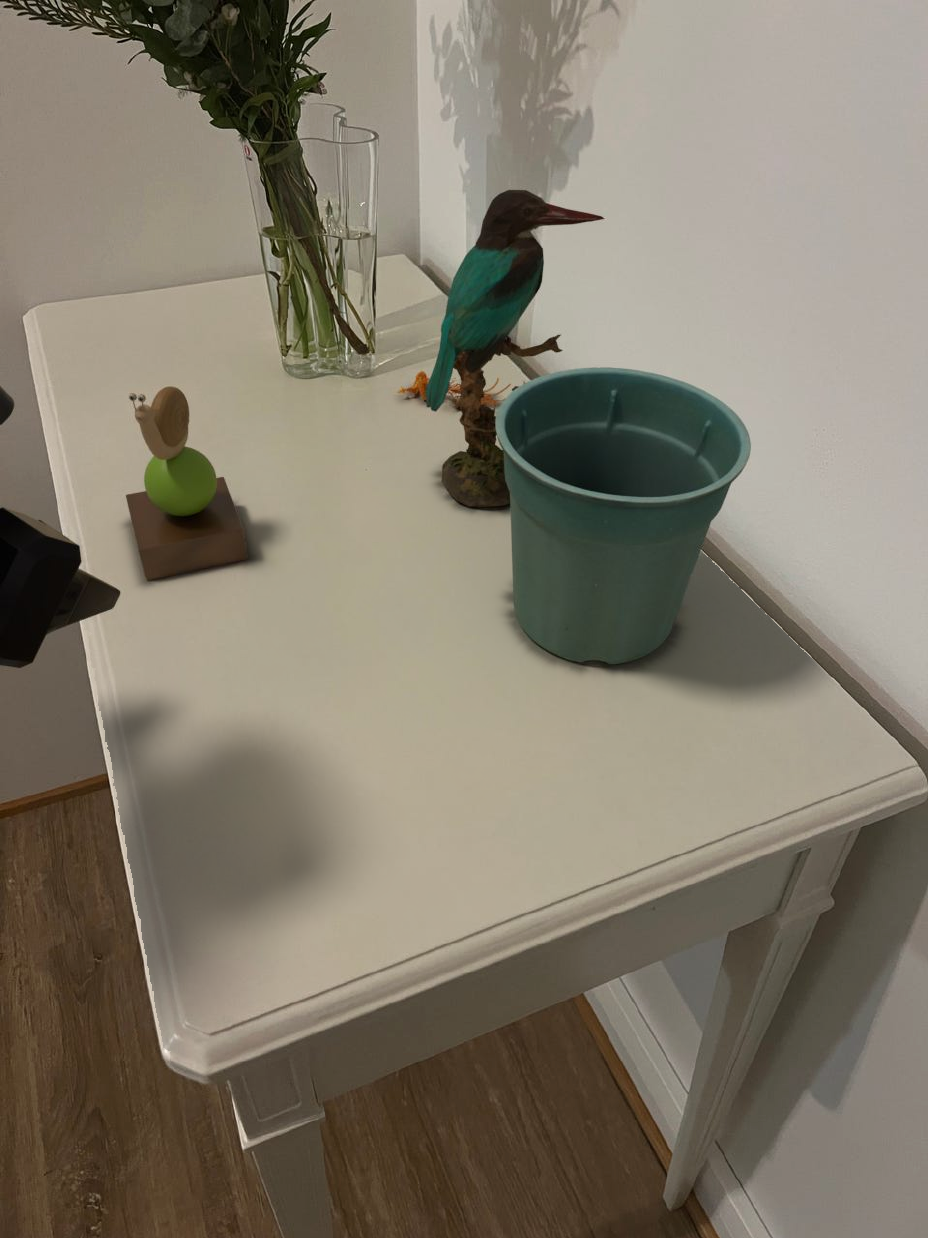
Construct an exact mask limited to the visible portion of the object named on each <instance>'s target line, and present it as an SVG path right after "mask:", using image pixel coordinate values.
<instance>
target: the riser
mask: <svg viewBox="0 0 928 1238" xmlns="http://www.w3.org/2000/svg"><path fill="white" fill-rule="evenodd" d="M216 478H217V487H216V492H215V495H214V497H213V499H212V501H211V502H210V503H209V505H208V506H207V507H206V508H204V509H203V510H202V511H200V512H198V513H196V514H193V515H189V516H175V515H171V514H168V513H166V512H164V511H162V510H160V509H159V508H158V507H157V506H155V505H154V503H153V502H152V501H151V500H150V498H149V496H148V494H147V492H146V490H144V491H139V492H133V493H128V494H126V495H125V499H126V504H127V508H128V512H129V516H130V517H129V518H130V521H131V525H132V529H133V533H134V538H135V543H136V546H137V551H138V556H139V559H140V562H141V565H142V566H141V567H142V570H143V574H144V578H145V580H146V581H152V580H155V579H161V578H165V577H166V578H167V577H169V576H171V577H172V576H175V575H180V574H184V573H189V572H193V571H194V572H195V571H197V570H203V569H208V568H213V567H218V566H221V565H227V564H231V563H236V562H241V561H245V560H248V559H249V554H248V547H247V543H246V542H247V541H246V535H245V529H244V527H243V525H242V521H241V518H240V515H239V513H238V510H237V508H236V506H235V503H234V499H233V498H232V494H231V492H230V489H229V486H228V484H227V481H226V479H225V477H224V476H220V477H216Z"/></svg>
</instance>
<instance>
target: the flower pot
mask: <svg viewBox="0 0 928 1238" xmlns="http://www.w3.org/2000/svg"><path fill="white" fill-rule="evenodd" d="M518 386H519V385H518ZM505 398H506V399H505ZM505 398H504V399H505V400H504V401H501V404H500V405H499V408H498V410H497V413H496V415H495V416H496V419H495V426H496V433H497V435H496V439H497V442H498V443H499V445H500V449H501V450H503V451H504V470H505V479H506V483H507V486H508V489H509V491H510V503H509V506H510V535H511V536H510V537H511V566H512V567H511V569H512V595H513V596H512V597H513V598H512V600H513V609H514V615H515V617H516V621H517V622H518V625H519V626H520V628H521V629H522V630H523V632H524V633H525V634H526V635H527V636H528V637H529V638H530V639H531V640H532V641H533V642H534V643H536V644H537V645H539V646H540V647H541V648H543V649H545V650H546V651H548V652H550V653H551V654H553V655H555V656H557V657H561V658H563V659H566V660H569V661H573V662H577V663H583V662H587V661H599V662H604V663H607V664H608V665H619V664H624V663H629V662H633V661H637V660H639V659H641V658H643V657H645V656H648V655H649V654H651V653H652V652H654V651H655V650H657V649H658V648H659V647H661V646H662V645H663V644H664V642H665V641H666V640H667V638H668V637H669V635H670V633H671V632H672V629H673V627H674V624H675V621H676V619H677V616H678V613H679V610H680V607H681V606H682V602H683V599H684V597H685V594H686V591H687V589H688V586H689V583H690V581H691V577H692V575H693V572H694V569H695V567H696V565H697V561H698V558H699V556H700V554H701V550H702V547H703V546H704V542H705V540H706V536H707V535H708V531H709V528H710V526H711V524H712V521H713V520H714V519H715V518H716V517H717V516H718V514H719V513H720V511H721V509H722V507H723V505H724V503H725V500H726V498H727V496H728V492H729V490H730V487H731V485H732V483H733V482H734V481H735V480H736V479H737V478H738V477H739V476H740V475H741V474H742V472H743V470H744V469H745V467H746V465H747V463H748V461H749V459H750V456H751V450H752V447H751V446H752V444H751V443H752V442H751V437H750V434H749V432H748V429H747V427H746V425H745V424H744V421H743V420H742V419H741V418H740V416H739V415H738V414H737V413H736V412H735V411H734V410H733V409H732V408H731V407H730V406H728V405H727V404H726V403H724V401H722V400H720V399H719V398H717V397H716V396H715V395H712V394H711V393H710V392H707V391H706V390H704V389H702V388H699V387H697V386H695V385H693V384H690V383H688V382H685V381H683V380H680V379H677V378H673V377H670V376H666V375H663V374H658V373H654V372H648V371H643V370H638V369H631V368H624V367H623V368H622V367H607V366H605V367H594V366H593V367H583V368H582V367H581V368H572V369H566V370H560V371H555V372H552V373H548V374H543V375H541V376H538V377H535V378H533V379H530V380H529V381H527V382H525V384H524V383H523V384H522V385H520V386H519V387H518V388H516V389H515V390H514V391H511V392H510V393H509V394H508V395H507V397H505Z"/></svg>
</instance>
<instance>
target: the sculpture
mask: <svg viewBox="0 0 928 1238" xmlns="http://www.w3.org/2000/svg"><path fill="white" fill-rule="evenodd" d="M601 220H605V218H604V217H603V216H602V215H598V214H593V213H590V212H584V211H579V210H575V209H569V208H565V207H561V206H558V205H554V204H551V203H547V202H545V200H544V199H543V198H542V197H540V196H538V195H537V194H535V193H533V192H531V191H529V190H527V189H508V190H505V191H503V192H500V193H498V194H497V195H495V197H494V198H492V201H491V202H490V204H489V206H488V208H487V210H486V213H485V214H484V217H483V219H482V223H481V229H480V234H479V236H478V238H477V240H476V242H475V245H473V246H472V247H471V249H469V251H468V252H467V253H466V255H465V256H464V258H463V260H462V262H461V263H460V264H459V267H458V269H457V271H456V273H455V274H454V276H453V279H452V284H451V287H450V290H449V294H448V298H447V302H446V308H445V315H444V316H443V319H442V323H441V325H440V326H441V327H440V334H441V335H440V342H439V348H438V353H437V356H436V360H435V364H434V366H433V370H432V372H431V375H430V377H429V378H430V380H429V382H428V385H427V388H426V392H425V395H426V400H425V402H426V409H427V408H430V410H431V411H432V412H437V411H438V410H439V409H440V407H442V405H443V404H444V402H445V400H446V397H447V394H448V393H447V391H448V388H449V387H450V386H449V383H450V382H451V380H452V376H453V373H454V370H456V372H457V374H458V375H459V377H460V379H461V380H460V382H461V383H460V384H461V385H460V392H461V394H459V396H460V397H458V402H456V403H454V405H453V408H454V409H455V410H456V411H457V412H460V413H462V414H461V415H460V418H459V420H458V422H459V423H460V424H461V425H462V426H463V431H464V441H465V442H466V443H467V444H468V446H467V449H465V451H464V450H463V451H462V450H459V451H458V452H456V453H454V454H452V455H450V456H449V457H448V458H447V459H446V460H445V461H444V462H443V464H442V466H441V467H442V468H441V483H442V485H443V486H444V488H445V489H446V491H447V492H448V494H449V495H450V497H452V498H453V499H454V500H455V501H456V502H459V503H461V504H463V505H464V506H466V507H475V508H476V507H477V508H480V507H481V508H483V507H484V508H492V507H501V506H502V507H503V506H506V505H508V504H509V505H510V491H509V489H508V486H507V483H506V479H505V470H504V451H503V449H502V448H501V447H499V446H498V445H497V444H496V443H497V433H496V426H495V419H496V415H495V413H496V406H494V407H493V408H491V407H490V406H487V405H485V404H481V402H482V401H481V399H482V398H483V397H484V396H485V395H484V392H483V391H484V390H485V389H484V388H486V385H487V382H486V381H487V380H486V378H485V376H484V373H485V372H484V370H483V368H484V367H485V366H486V365H487V364H488V363H489V362H491V361H492V360H493V357H494V356H495V355H496V356H498V357H500V356H501V357H502V355H503V356H509V355H512V354H514V355H516V356H518V357H522V358H526V357H536V356H538V355H540V354H543V353H546V352H548V351H552V352H554V353H556V354H557V353H561V352H563V349H561V348H560V347H559V344H558V341H557V340H558V339H559V337H561V336H562V334H556V335H555V336H552V337H551V336H550V337H549V338H547V339H546V340H545V341H544V342H542V343H541V344H538V345H534V346H530V347H526V348H521V346H520V345H518V344H516V343H515V342H514V343H513V342H512V338H511V337H510V334H511V332H512V331H513V329H514V328H515V327H516V325H517V324H518V322H519V321H520V319H521V318H522V316H523V314H524V313H525V311H526V310H527V308H528V307H529V305H530V304H531V302H532V301H533V300H534V298H535V296H536V295H537V293H538V292H539V290H540V289H541V286H542V282H543V277H544V276H543V275H544V265H545V260H544V259H545V258H544V248H543V246H542V245H541V244H540V243H539V241H538V239H537V238H536V237H535V236H534V234H533V233H532V231H533V230H537V229H538V228H539V227H544V226H545V227H547V226H566V225H571V226H572V225H577V224H583V223H591V222H596V221H601ZM525 383H526V382H525V381H523V384H525ZM518 387H519V385H515V386H514V387H512V389H511V392H513V391H514V390H515V389H516V388H518ZM494 400H495V402H496V400H497V399H494Z"/></svg>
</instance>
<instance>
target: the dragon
mask: <svg viewBox="0 0 928 1238" xmlns="http://www.w3.org/2000/svg"><path fill="white" fill-rule="evenodd" d="M453 379H454V380H452V381H450V383H449V388H448V391H447V394H449V395H450V397H451V398H452V399H451V398H449V399H448V400H449V405H450V406H452V405H453V406H455V403H456V402H458V401H459V398H460V395H461V392H460V385H461V378H460V379H459V380H458V379H456V377H453ZM429 380H430V377H428V375H427V373H426V372H425V371H422V370H421V371H418V373H417V374H416V376H415V380H414V383H413V385H412V386H411V387H407V388H404V387H403V386H402V385H400V389H399V390H398V391H397V394H403V395H404V396H405V395H406V392H409V393H411V394H413V395H417V394H418V393H419V394H420V396H421V398H422V400H425V401H426V395H425V392H426V388H427V385H428V382H429ZM499 380H500V378H499V377H497V378H496V382H495V383H494V385H493V386H491V387H490V388H489V389H486V390H485V389H483V392H484V397H483V398H481V405H485V404H487V405H489V406H491V407H493V408H494V407H495V405H496V404H497V403H498V402H503V401H504V400H505V399H506V398H507V397H505V398H503V399H501V400H499V399H493V397H495V396H498V395H500V394H502V393H503V392H504V391H506V390H507V389H509V388H510V386H511V385H512V383H509V384H508V385H507V386H505V387H504V388H503V389H501V390H500V391H498V392H496V393H493V394H491V393H488V392H490V391H492V390H494V389H495V388H496V386H497V385H498V383H499ZM456 381H458V382H456ZM454 382H456V384H455V383H454ZM453 383H454V384H453ZM454 395H455V396H454ZM495 400H496V402H495Z"/></svg>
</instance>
